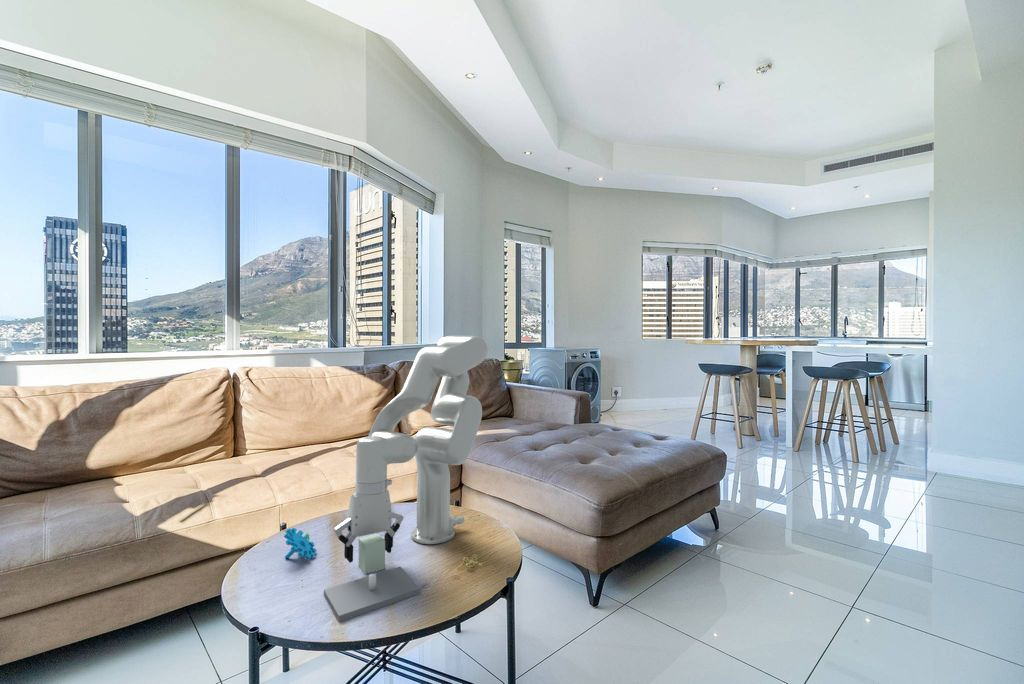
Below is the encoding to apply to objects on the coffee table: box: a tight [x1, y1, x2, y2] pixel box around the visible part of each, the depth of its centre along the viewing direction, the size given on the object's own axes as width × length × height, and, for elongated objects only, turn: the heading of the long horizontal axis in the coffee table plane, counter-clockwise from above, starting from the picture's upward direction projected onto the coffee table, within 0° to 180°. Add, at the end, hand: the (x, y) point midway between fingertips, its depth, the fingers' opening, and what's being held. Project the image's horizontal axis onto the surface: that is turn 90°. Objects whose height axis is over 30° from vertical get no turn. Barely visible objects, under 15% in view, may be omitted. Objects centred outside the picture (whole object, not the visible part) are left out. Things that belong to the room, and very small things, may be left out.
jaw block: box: [358, 533, 386, 575], centre depth 116 cm, size 5×5×7 cm
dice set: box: [462, 553, 484, 572], centre depth 118 cm, size 5×5×2 cm
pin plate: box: [323, 566, 422, 622], centre depth 104 cm, size 18×12×4 cm, turn 126°
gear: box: [283, 527, 317, 561], centre depth 121 cm, size 11×6×10 cm
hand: (368, 555), depth 116 cm, fingers open, 9 cm apart
